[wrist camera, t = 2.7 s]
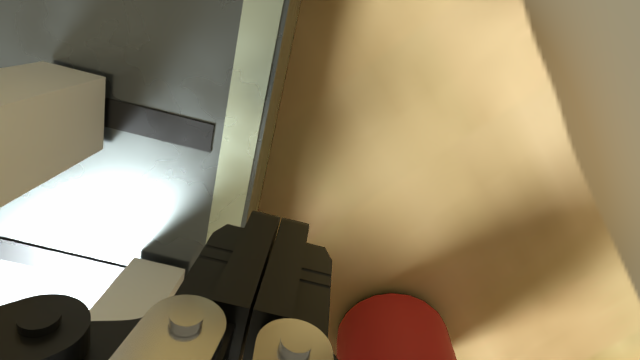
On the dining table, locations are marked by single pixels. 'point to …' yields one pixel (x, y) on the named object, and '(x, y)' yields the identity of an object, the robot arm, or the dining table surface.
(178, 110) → the panel
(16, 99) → the handle
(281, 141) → the dining table surface
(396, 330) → the beer can
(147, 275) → the handle
